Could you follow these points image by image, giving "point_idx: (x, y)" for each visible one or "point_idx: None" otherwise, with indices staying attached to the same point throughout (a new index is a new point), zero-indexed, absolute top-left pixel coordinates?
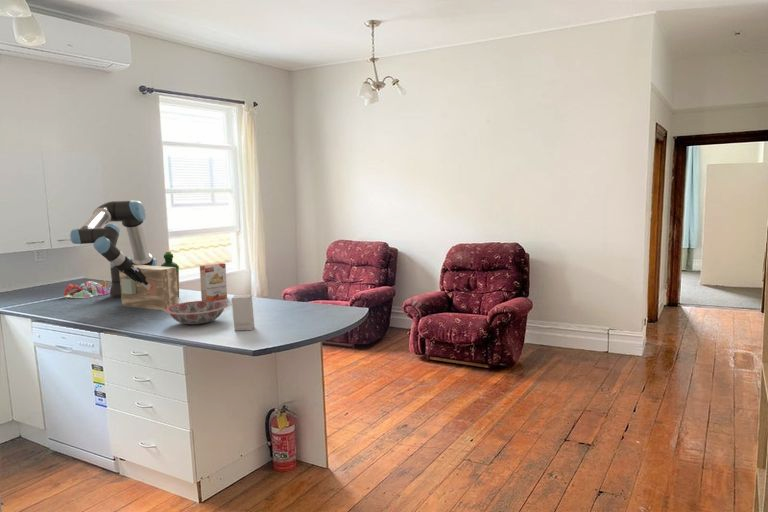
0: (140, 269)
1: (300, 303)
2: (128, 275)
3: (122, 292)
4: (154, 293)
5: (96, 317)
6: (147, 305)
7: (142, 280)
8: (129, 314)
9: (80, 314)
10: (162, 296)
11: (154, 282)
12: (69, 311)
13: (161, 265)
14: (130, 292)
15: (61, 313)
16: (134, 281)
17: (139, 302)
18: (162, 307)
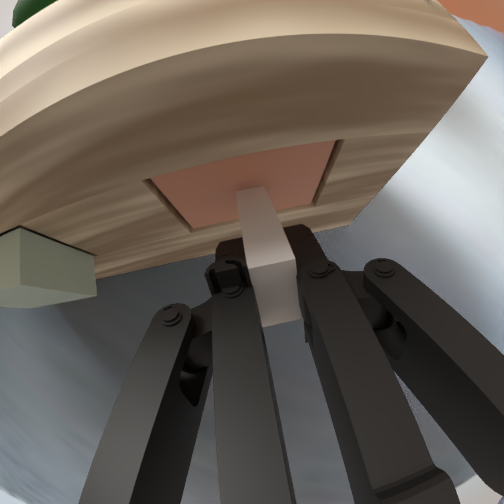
0: (7, 144)
1: (486, 30)
2: (180, 493)
3: (26, 308)
4: (285, 204)
5: (196, 496)
6: (211, 249)
7: (393, 334)
8: (275, 392)
9: (83, 477)
10: (368, 197)
11: (307, 155)
12: (16, 447)
13: (20, 9)
14: (80, 297)
15: (30, 475)
16: (35, 245)
17: (140, 261)
18: (340, 223)
